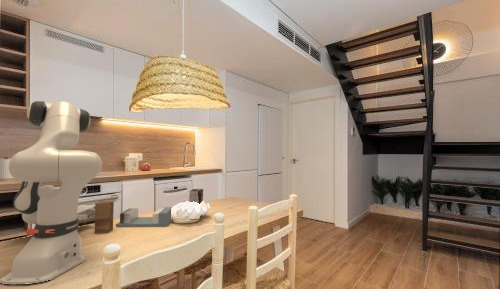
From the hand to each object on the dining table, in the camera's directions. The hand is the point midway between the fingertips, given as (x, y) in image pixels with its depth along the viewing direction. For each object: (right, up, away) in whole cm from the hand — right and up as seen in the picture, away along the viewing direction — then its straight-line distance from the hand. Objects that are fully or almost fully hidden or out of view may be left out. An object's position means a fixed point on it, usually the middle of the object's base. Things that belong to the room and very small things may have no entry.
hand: (93, 214), depth 118 cm
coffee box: (+43, -10, +27) cm, 52 cm away
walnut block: (+5, -8, 0) cm, 10 cm away
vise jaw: (+10, -7, +14) cm, 19 cm away
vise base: (+19, -9, +14) cm, 25 cm away
